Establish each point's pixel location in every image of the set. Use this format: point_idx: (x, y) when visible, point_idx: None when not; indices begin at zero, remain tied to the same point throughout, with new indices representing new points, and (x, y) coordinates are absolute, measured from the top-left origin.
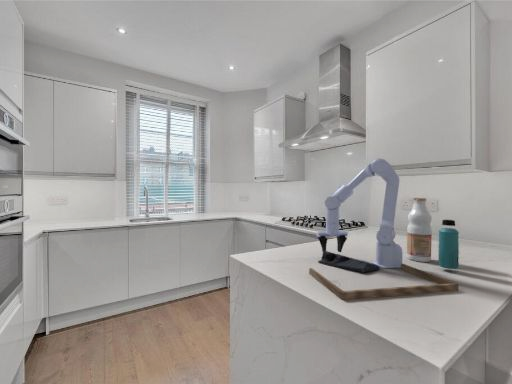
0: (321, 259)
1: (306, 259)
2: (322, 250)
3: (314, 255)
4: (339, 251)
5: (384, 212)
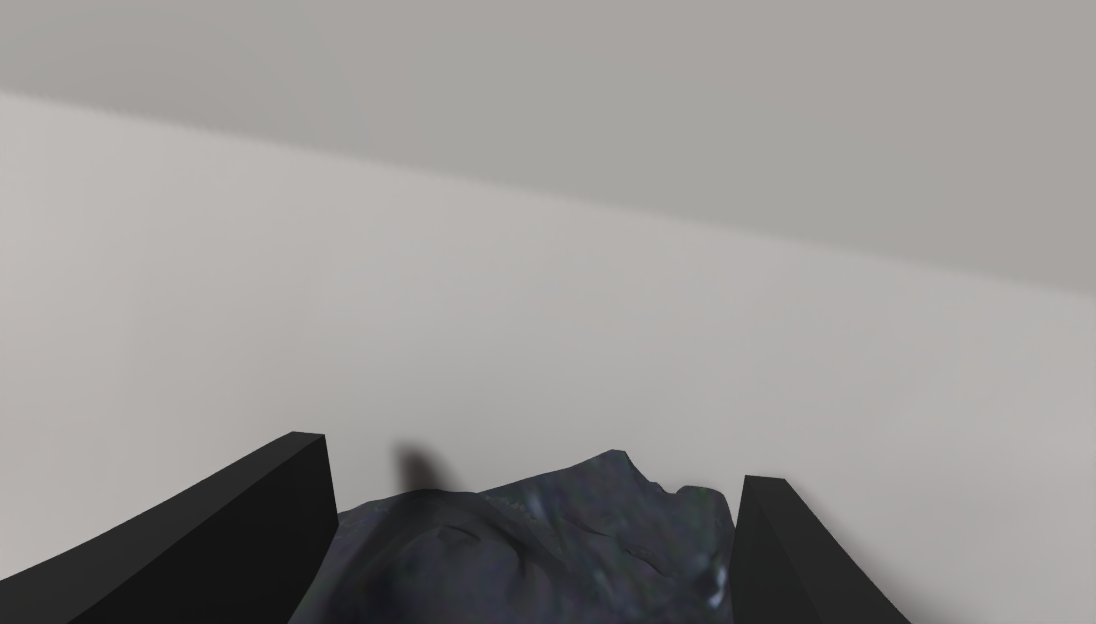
0: None
1: (18, 431)
2: (264, 457)
3: (214, 197)
4: (734, 565)
5: None
